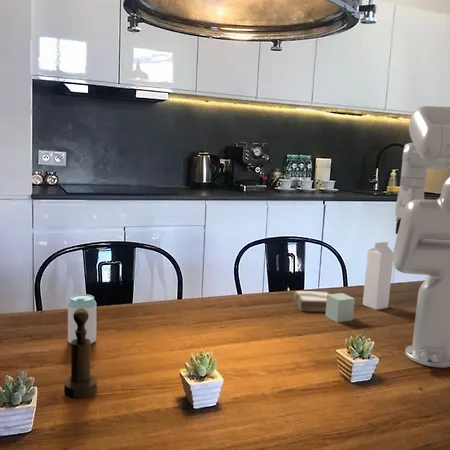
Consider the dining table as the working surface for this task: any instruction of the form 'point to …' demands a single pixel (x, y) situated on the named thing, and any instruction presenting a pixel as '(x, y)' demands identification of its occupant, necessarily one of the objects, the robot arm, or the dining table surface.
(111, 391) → the dining table surface
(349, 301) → the block
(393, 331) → the dining table surface
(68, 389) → the dark brown tall piece
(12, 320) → the dining table surface
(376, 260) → the milk
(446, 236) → the robot arm
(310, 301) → the plinth
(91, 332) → the can
